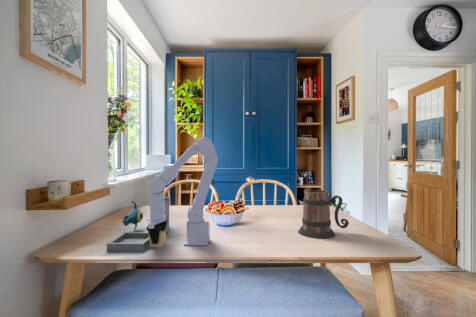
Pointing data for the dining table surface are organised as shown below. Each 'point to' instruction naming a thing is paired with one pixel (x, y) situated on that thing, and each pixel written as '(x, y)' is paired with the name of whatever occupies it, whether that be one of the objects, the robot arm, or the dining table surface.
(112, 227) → the dining table surface
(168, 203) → the coffee box
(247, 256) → the dining table surface
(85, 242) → the dining table surface
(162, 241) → the mustard block
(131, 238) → the tray
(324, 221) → the tankard
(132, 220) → the blue bird figurine
